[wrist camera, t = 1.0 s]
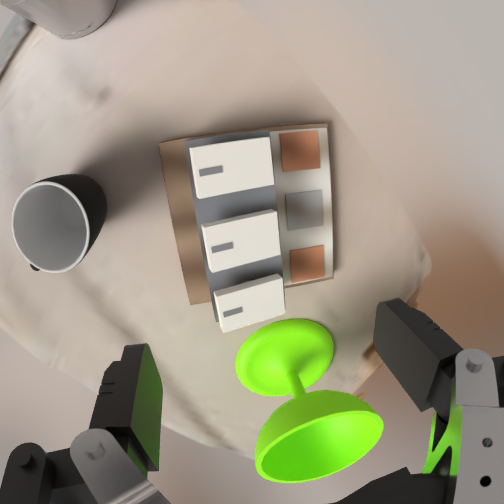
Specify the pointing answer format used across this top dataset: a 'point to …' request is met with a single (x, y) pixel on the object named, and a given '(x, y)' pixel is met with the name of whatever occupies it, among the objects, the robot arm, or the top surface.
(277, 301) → the switch far
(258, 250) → the switch middle
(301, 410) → the wineglass
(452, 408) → the robot arm
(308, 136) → the switch unit
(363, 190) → the top surface
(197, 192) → the switch near
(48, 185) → the mug
